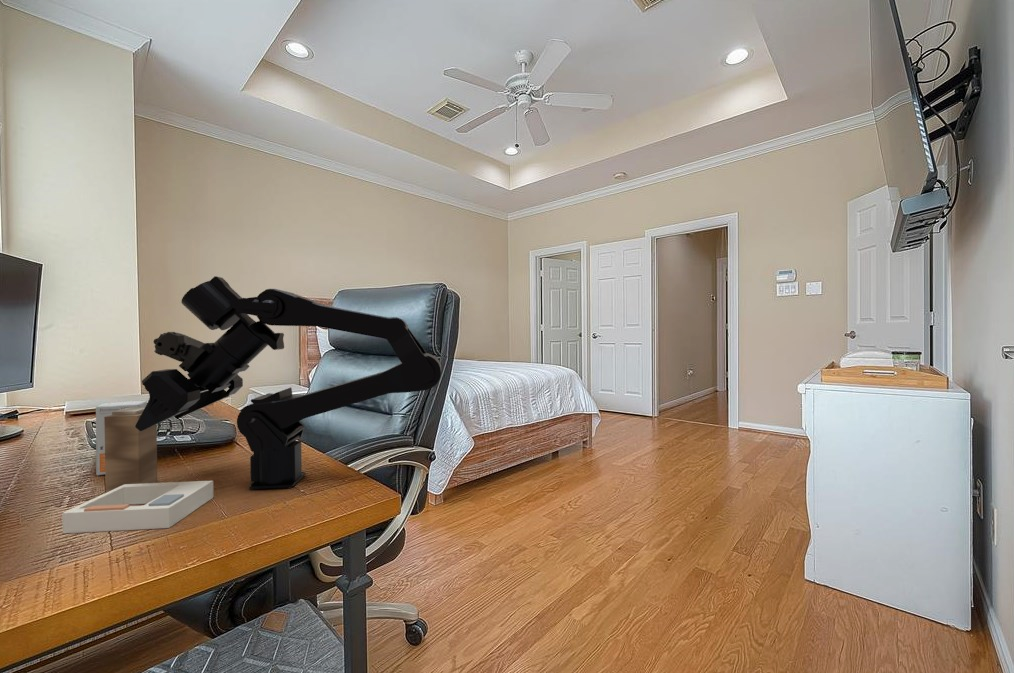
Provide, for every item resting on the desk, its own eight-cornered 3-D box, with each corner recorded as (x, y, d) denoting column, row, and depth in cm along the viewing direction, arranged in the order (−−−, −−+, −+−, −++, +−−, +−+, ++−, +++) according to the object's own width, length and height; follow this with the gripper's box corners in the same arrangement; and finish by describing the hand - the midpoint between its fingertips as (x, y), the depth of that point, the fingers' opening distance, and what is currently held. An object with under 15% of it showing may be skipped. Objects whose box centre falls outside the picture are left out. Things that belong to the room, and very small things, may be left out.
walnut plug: (157, 485, 70) (156, 406, 70) (139, 495, 66) (137, 411, 65) (126, 486, 69) (124, 407, 69) (105, 497, 65) (104, 412, 65)
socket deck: (213, 497, 64) (213, 478, 64) (169, 527, 55) (168, 505, 54) (124, 501, 63) (124, 482, 63) (62, 533, 53) (62, 510, 53)
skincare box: (95, 476, 74) (93, 406, 74) (106, 469, 78) (105, 402, 78) (140, 471, 76) (138, 403, 76) (148, 465, 80) (147, 400, 80)
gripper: (223, 316, 78) (154, 379, 76) (157, 312, 59) (65, 395, 58) (270, 360, 79) (204, 423, 77) (221, 369, 61) (132, 452, 59)
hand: (158, 422), depth 68 cm, fingers open, 9 cm apart
